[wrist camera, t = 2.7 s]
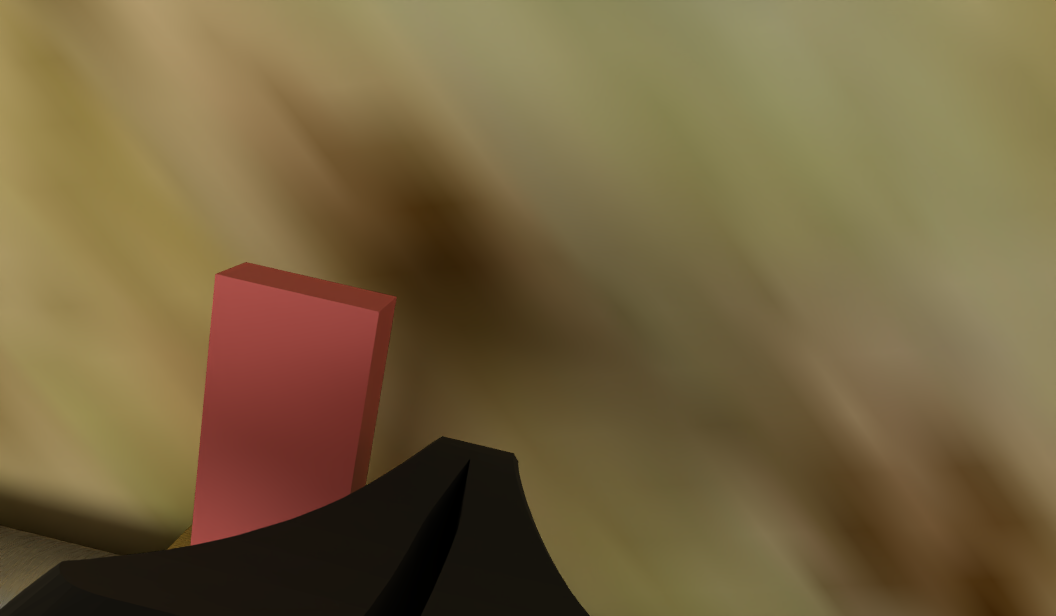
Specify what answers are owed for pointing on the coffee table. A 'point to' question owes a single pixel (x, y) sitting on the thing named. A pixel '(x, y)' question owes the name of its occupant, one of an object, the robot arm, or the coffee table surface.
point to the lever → (286, 397)
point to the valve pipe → (43, 557)
